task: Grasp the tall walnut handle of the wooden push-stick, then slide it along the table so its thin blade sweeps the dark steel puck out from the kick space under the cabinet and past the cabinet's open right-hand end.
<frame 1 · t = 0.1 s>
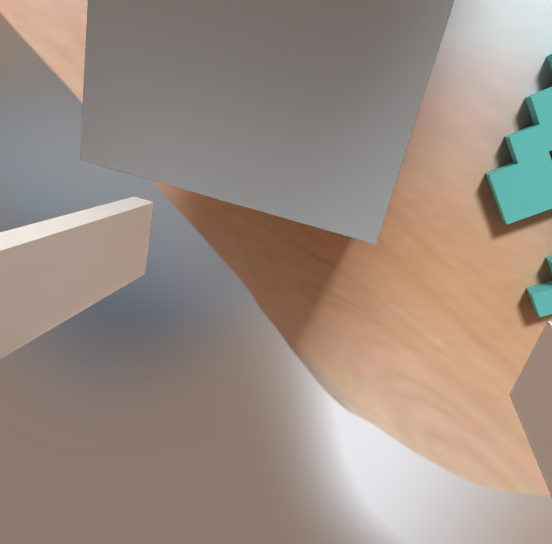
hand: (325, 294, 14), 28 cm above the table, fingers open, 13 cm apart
cabinet: (344, 12, 36), on the table
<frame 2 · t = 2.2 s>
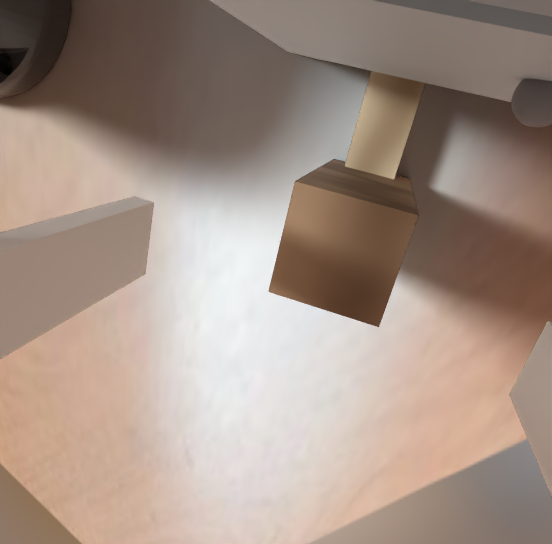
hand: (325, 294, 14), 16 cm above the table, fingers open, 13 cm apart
push-stick: (360, 205, 29), on the table
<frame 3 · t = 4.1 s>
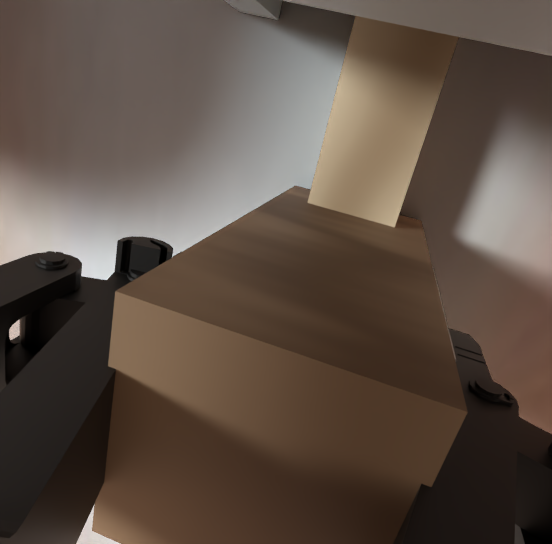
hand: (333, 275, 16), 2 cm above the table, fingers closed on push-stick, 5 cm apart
push-stick: (339, 261, 18), on the table, touching gripper
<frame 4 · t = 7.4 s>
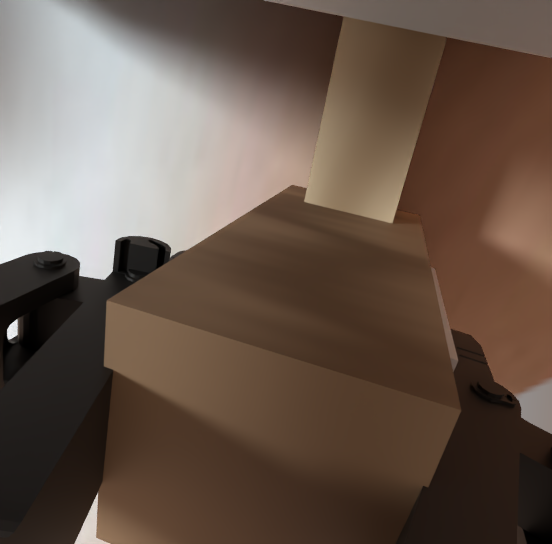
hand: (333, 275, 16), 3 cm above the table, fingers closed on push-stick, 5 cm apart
push-stick: (339, 259, 18), point 1 cm above the table, touching gripper
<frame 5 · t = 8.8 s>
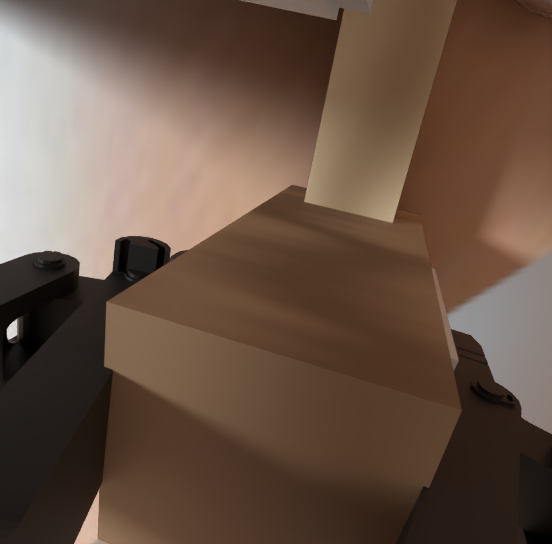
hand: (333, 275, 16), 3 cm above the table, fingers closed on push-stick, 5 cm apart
push-stick: (339, 259, 18), point 1 cm above the table, touching gripper
when the fingers open (3 cm above the table, at t = 9.7 s): push-stick stays where it is, on the table.
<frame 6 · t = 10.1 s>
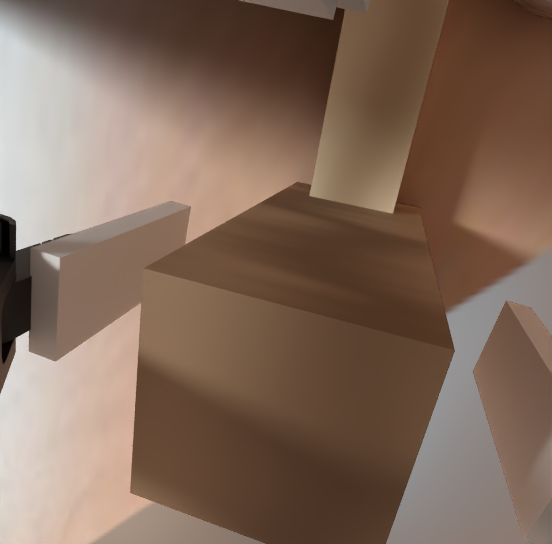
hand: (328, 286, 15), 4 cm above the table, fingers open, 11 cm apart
push-stick: (343, 252, 19), on the table
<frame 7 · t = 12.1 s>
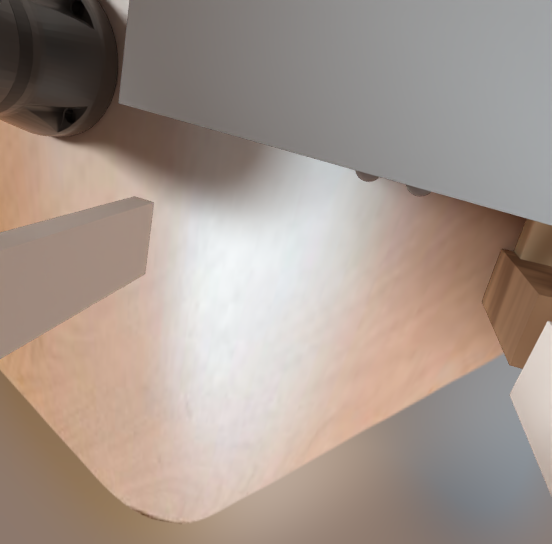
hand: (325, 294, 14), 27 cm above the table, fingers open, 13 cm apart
cabinet: (433, 64, 35), on the table
push-stick: (521, 283, 38), on the table
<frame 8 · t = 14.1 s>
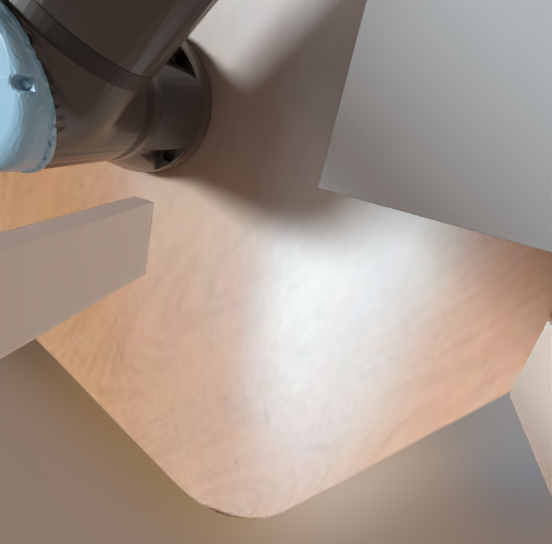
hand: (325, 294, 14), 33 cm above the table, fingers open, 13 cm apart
cabinet: (512, 111, 39), on the table
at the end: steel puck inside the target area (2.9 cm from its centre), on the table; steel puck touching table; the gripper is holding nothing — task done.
